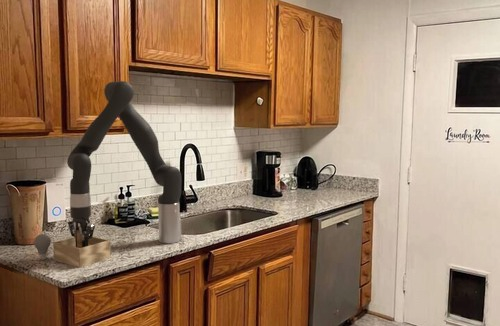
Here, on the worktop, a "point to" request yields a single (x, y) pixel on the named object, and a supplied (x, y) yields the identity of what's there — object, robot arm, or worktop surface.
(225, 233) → the worktop surface
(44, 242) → the light bulb
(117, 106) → the robot arm
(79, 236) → the peg
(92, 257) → the crate
